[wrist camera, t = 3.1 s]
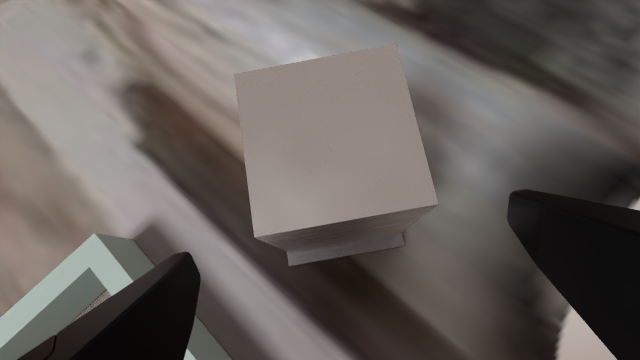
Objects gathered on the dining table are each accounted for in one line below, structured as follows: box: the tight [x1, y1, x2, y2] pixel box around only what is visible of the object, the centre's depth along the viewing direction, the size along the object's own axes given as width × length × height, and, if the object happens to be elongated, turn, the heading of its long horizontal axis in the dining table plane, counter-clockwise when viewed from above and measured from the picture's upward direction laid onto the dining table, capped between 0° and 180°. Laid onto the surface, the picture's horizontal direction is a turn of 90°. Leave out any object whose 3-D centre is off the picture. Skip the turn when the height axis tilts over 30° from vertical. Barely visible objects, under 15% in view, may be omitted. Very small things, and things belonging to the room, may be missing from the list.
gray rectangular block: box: [234, 44, 438, 267], centre depth 17 cm, size 6×6×11 cm
